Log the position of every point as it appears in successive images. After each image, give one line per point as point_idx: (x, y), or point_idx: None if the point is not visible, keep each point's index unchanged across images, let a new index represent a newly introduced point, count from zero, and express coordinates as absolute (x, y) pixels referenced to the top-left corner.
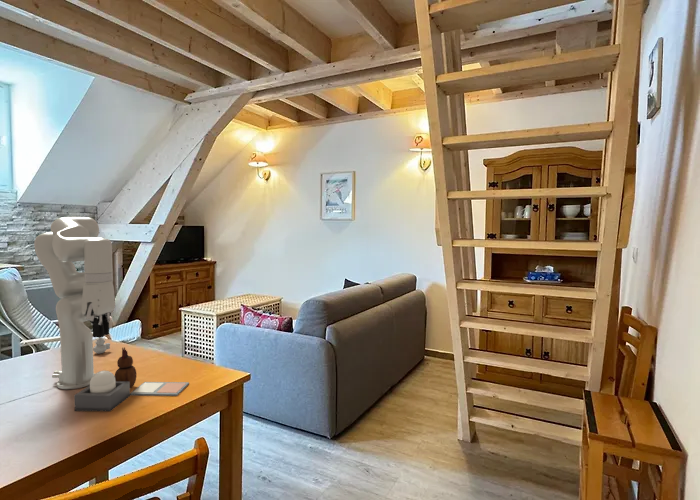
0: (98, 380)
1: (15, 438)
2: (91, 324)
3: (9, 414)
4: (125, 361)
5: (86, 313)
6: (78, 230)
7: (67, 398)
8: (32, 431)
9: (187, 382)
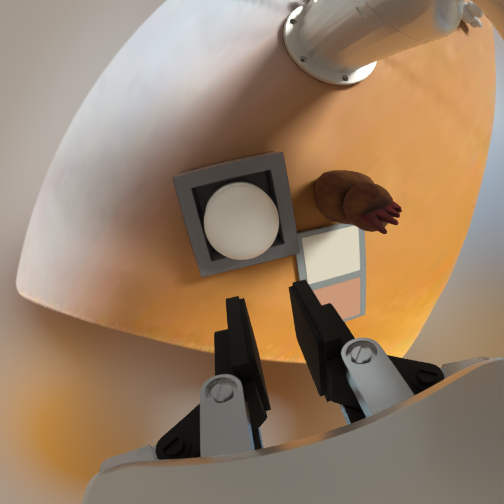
0: (211, 241)
1: (59, 174)
2: (202, 386)
3: (130, 46)
4: (357, 224)
5: (152, 491)
6: None
7: (238, 87)
8: (83, 177)
9: (364, 312)
